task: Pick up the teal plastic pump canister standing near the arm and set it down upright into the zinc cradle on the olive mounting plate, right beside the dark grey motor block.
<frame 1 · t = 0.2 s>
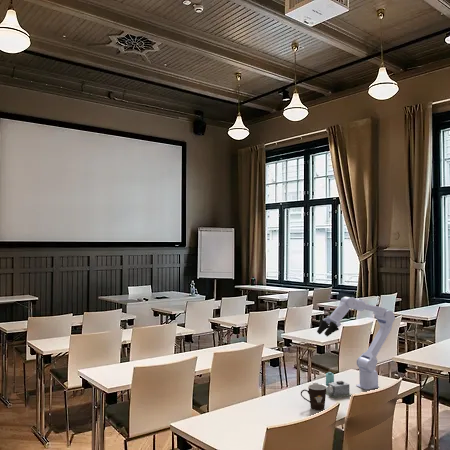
hand: (321, 334, 251), 31 cm above the table, tool tilted 45°, fingers open, 7 cm apart
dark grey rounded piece: (315, 386, 264), on the table
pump: (329, 385, 265), on the table
motor: (338, 394, 249), on the table
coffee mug: (314, 407, 230), on the table
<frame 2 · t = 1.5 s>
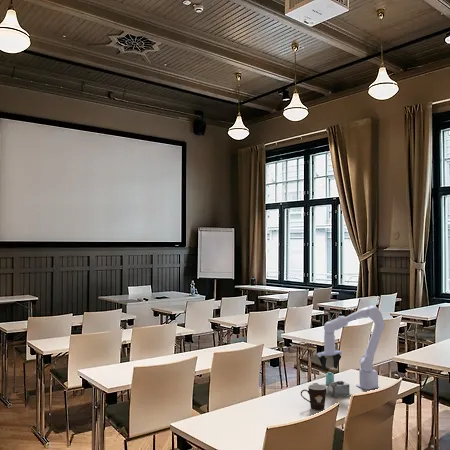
hand: (329, 368, 265), 9 cm above the table, tool pointing down, fingers open, 7 cm apart
nothing on the table moved.
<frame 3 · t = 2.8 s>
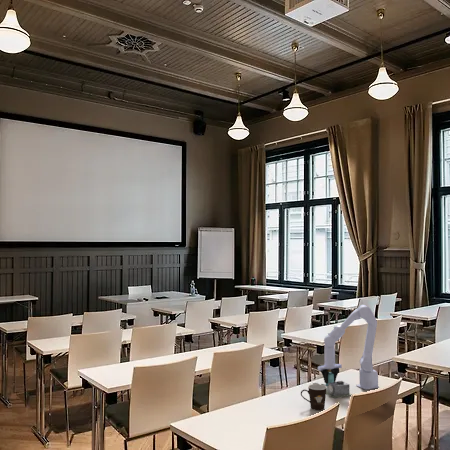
hand: (329, 382, 265), 1 cm above the table, tool pointing down, fingers closed on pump, 4 cm apart
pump: (329, 384, 265), on the table, touching gripper
everything else where it was.
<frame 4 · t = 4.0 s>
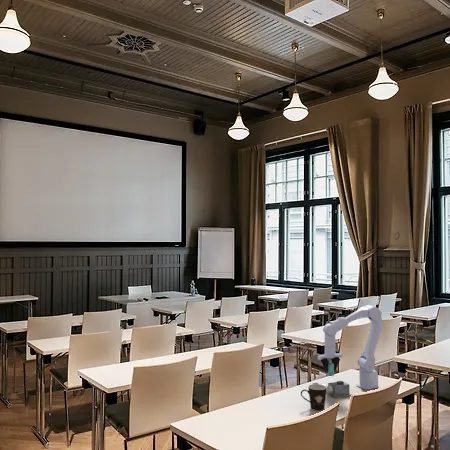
hand: (330, 371, 259), 9 cm above the table, tool pointing down, fingers closed on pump, 4 cm apart
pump: (330, 374, 259), point 7 cm above the table, touching gripper
everything else where it was.
when the fingers open (4 cm above the table, at t = 5.6 s): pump drops 2 cm, resting on motor.
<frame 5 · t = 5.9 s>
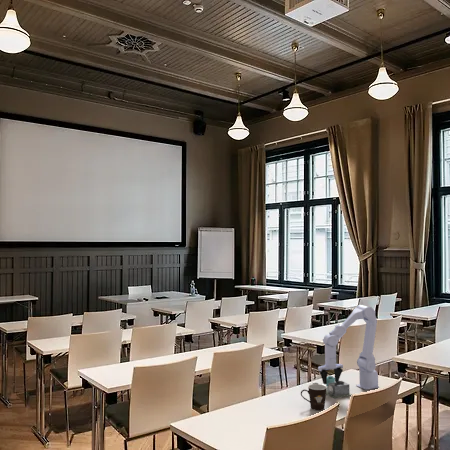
hand: (330, 383, 256), 4 cm above the table, tool pointing down, fingers open, 7 cm apart
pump: (330, 389, 256), point 1 cm above the table, touching motor
everything else where it was.
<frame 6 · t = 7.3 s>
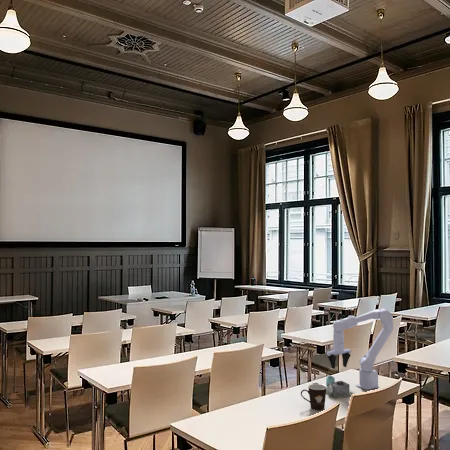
hand: (339, 367, 264), 10 cm above the table, tool pointing down, fingers open, 7 cm apart
nothing on the table moved.
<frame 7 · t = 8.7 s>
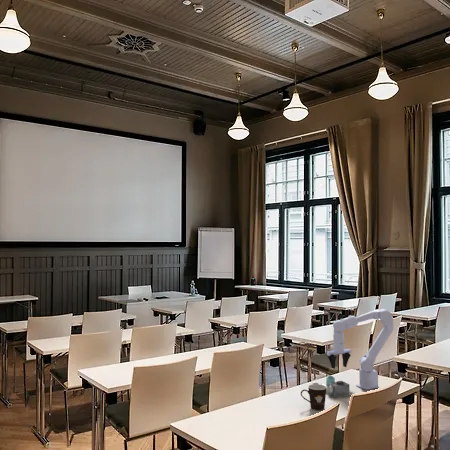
hand: (339, 367, 264), 10 cm above the table, tool pointing down, fingers open, 7 cm apart
nothing on the table moved.
at the end: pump 1.0 cm from the target spot on the motor, point 0.5 cm above the motor's base; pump tilted 1°; the gripper is holding nothing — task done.
